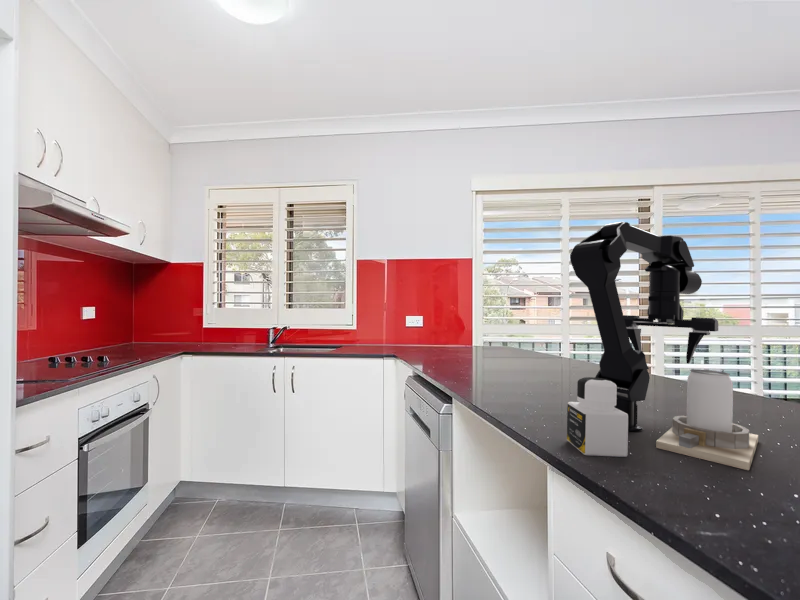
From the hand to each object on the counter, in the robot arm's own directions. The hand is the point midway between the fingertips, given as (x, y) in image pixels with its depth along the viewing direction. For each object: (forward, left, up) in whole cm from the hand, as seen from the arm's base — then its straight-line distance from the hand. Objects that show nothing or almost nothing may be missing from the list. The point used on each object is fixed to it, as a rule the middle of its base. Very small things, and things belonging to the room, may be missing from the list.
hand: (663, 360), depth 86 cm
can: (-7, -15, -12) cm, 21 cm away
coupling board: (-7, -16, -13) cm, 21 cm away
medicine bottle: (-30, -14, -13) cm, 36 cm away
